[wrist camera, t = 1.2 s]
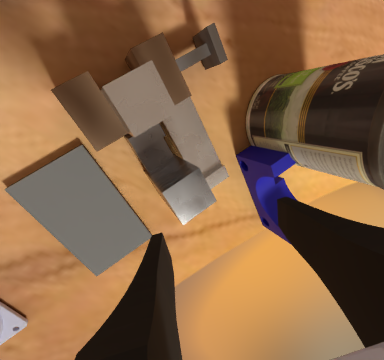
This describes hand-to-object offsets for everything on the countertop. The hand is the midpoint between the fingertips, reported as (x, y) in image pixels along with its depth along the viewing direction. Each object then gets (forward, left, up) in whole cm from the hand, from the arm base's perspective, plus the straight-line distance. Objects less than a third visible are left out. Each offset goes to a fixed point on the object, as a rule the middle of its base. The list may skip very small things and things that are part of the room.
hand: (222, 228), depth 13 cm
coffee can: (+16, -2, -12) cm, 20 cm away
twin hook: (+2, +3, -12) cm, 13 cm away
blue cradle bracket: (+11, -9, -12) cm, 18 cm away
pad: (-8, +1, -12) cm, 15 cm away
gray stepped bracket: (0, +2, -12) cm, 12 cm away
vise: (+3, +9, -12) cm, 15 cm away
